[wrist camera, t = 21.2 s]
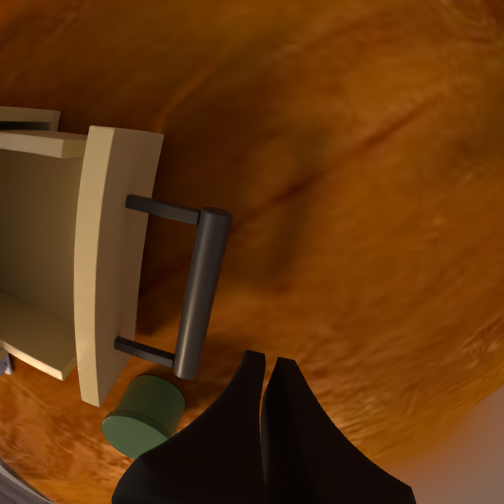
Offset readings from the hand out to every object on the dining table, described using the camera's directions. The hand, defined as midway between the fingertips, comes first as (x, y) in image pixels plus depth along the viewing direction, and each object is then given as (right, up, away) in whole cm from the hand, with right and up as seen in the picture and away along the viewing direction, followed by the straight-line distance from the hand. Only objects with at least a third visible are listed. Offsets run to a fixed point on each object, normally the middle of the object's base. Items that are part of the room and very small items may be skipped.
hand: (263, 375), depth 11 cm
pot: (-8, -7, +12) cm, 16 cm away
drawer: (-11, +5, +7) cm, 14 cm away
